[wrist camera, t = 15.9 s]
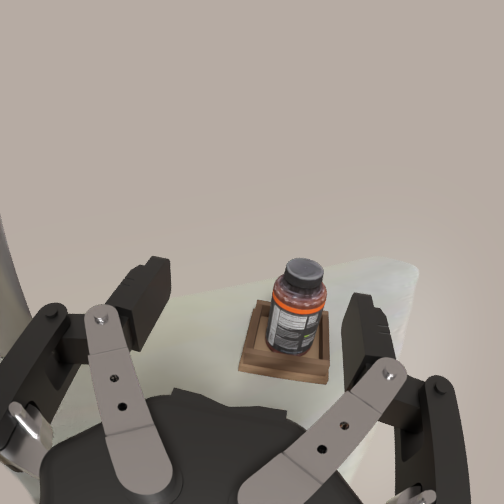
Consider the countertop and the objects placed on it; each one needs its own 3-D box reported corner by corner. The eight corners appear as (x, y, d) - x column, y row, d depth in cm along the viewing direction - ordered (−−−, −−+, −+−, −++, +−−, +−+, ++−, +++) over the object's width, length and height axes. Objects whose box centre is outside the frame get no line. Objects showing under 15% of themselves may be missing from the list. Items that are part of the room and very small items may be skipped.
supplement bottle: (277, 319, 42) (292, 246, 36) (318, 337, 40) (340, 264, 34) (255, 346, 38) (267, 269, 32) (299, 367, 35) (322, 291, 29)
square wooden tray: (238, 370, 35) (240, 354, 34) (252, 314, 44) (254, 297, 43) (326, 384, 34) (333, 369, 33) (325, 325, 43) (331, 309, 42)
